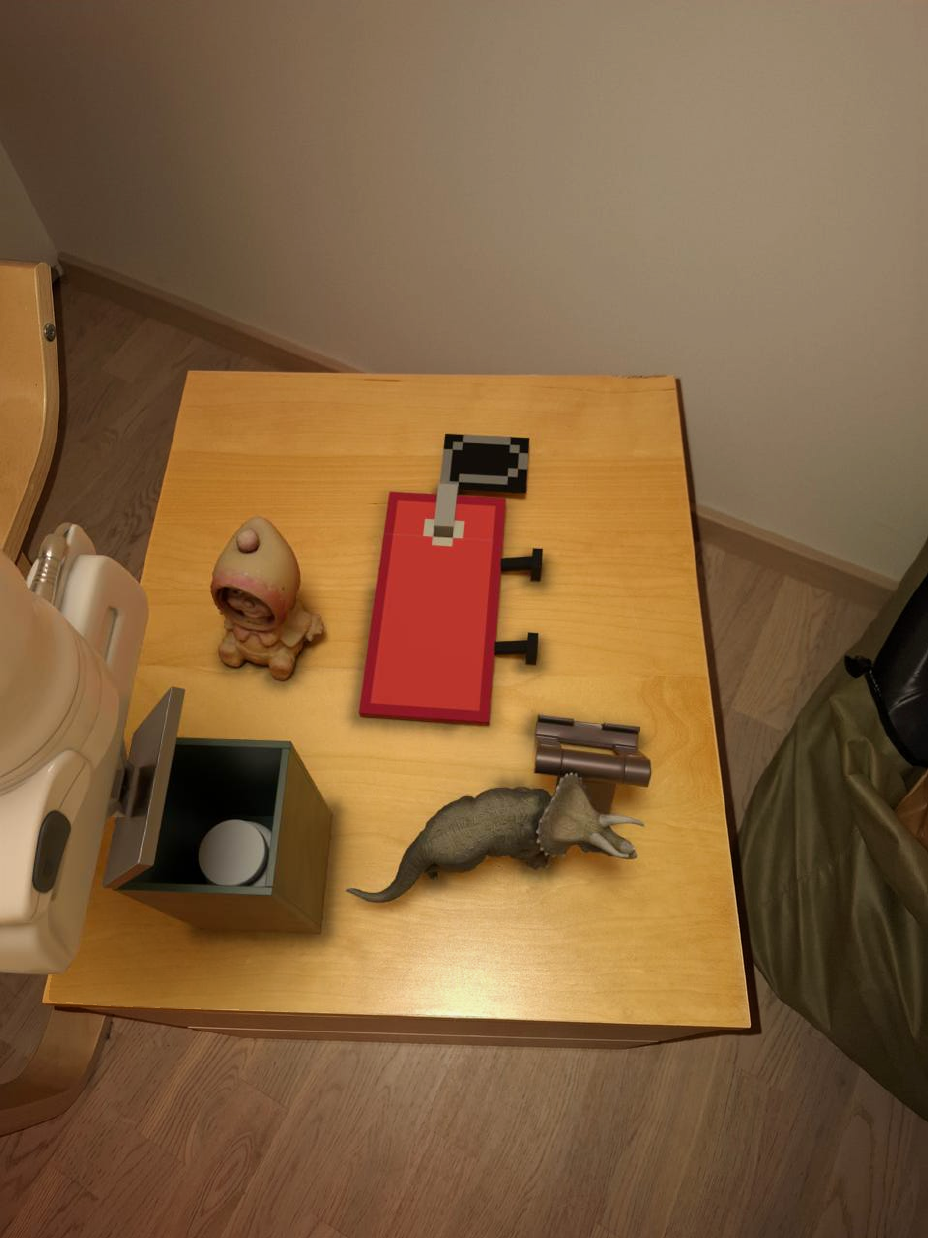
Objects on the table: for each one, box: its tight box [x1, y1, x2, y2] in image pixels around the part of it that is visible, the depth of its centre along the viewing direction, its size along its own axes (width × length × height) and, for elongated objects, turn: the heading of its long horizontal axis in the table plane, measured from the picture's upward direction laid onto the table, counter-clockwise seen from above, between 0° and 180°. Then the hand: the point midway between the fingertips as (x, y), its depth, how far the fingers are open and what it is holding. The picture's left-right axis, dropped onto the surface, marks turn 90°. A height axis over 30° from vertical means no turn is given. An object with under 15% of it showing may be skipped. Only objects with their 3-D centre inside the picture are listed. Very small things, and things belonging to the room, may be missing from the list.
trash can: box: [111, 736, 333, 935], centre depth 64 cm, size 10×10×20 cm
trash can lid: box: [101, 686, 186, 890], centre depth 51 cm, size 10×10×1 cm
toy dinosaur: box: [345, 773, 646, 904], centre depth 68 cm, size 22×8×11 cm, turn 96°
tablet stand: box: [533, 714, 653, 815], centre depth 72 cm, size 9×8×8 cm
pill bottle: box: [199, 820, 272, 887], centre depth 67 cm, size 6×6×10 cm
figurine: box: [209, 515, 325, 682], centre depth 76 cm, size 10×8×15 cm
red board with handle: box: [358, 433, 544, 726], centre depth 83 cm, size 30×3×15 cm
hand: (117, 792), depth 51 cm, fingers closed, pressing on trash can lid
